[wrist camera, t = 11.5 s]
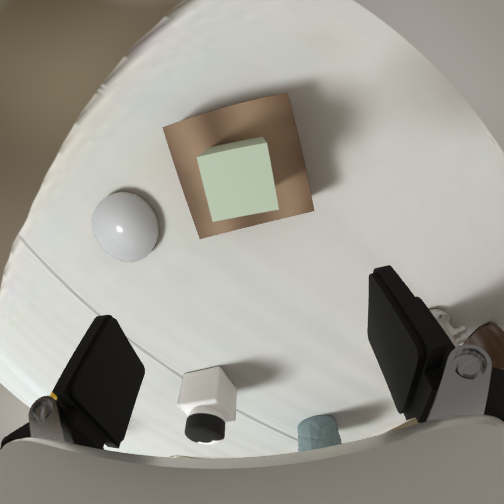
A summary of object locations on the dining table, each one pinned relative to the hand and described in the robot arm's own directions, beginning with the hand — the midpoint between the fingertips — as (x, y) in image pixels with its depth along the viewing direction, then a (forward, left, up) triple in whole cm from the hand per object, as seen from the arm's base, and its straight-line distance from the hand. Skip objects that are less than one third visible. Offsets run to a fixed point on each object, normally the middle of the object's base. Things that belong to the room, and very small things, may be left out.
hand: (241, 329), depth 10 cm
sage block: (0, -2, -20) cm, 20 cm away
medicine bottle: (+14, +32, -25) cm, 43 cm away
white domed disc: (+16, +2, -25) cm, 30 cm away
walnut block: (0, -2, -25) cm, 25 cm away
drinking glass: (-3, +54, -25) cm, 59 cm away
